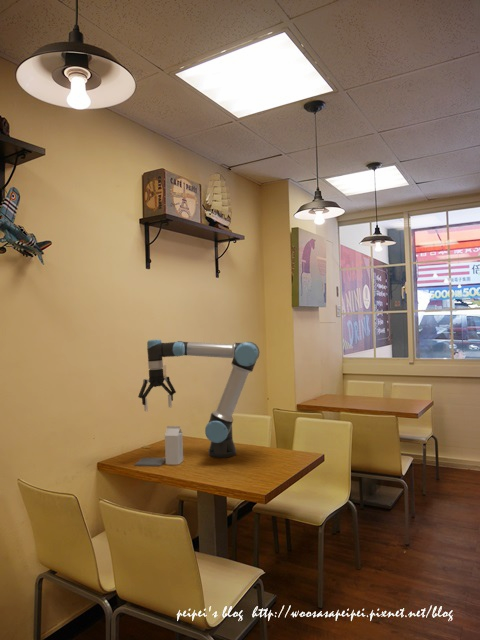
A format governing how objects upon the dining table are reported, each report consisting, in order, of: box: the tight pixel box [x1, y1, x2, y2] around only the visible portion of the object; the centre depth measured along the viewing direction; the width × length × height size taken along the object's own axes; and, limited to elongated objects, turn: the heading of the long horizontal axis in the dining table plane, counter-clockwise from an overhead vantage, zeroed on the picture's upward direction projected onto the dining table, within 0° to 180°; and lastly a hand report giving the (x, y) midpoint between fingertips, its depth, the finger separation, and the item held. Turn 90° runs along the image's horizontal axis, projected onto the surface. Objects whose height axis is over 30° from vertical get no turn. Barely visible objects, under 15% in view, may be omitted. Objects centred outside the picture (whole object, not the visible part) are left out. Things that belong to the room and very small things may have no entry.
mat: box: [134, 457, 166, 467], centre depth 241 cm, size 14×12×1 cm
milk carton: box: [164, 425, 184, 466], centre depth 239 cm, size 7×7×19 cm
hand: (158, 409), depth 243 cm, fingers open, 13 cm apart
